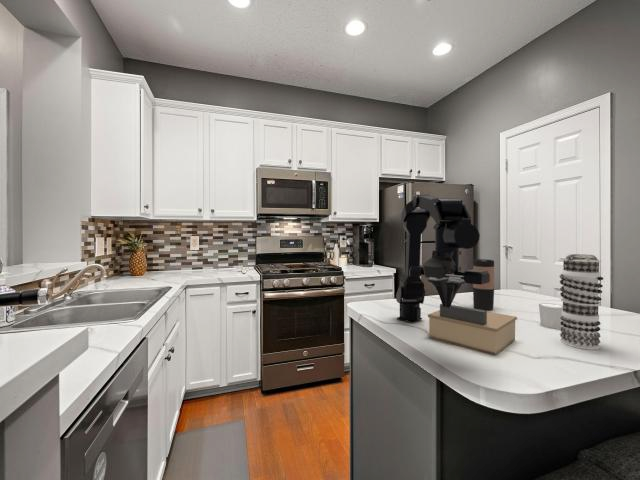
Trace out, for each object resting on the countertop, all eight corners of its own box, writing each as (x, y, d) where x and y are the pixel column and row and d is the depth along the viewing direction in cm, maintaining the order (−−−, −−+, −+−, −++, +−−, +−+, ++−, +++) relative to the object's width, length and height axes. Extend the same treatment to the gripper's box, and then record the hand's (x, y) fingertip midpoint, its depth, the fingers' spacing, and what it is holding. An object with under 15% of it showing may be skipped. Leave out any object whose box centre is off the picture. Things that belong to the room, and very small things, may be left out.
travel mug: (468, 307, 126) (469, 259, 125) (481, 305, 129) (481, 258, 128) (485, 311, 119) (486, 261, 118) (498, 309, 122) (498, 260, 121)
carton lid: (427, 317, 90) (427, 302, 90) (452, 307, 101) (452, 295, 101) (496, 332, 76) (496, 315, 76) (516, 319, 87) (516, 304, 87)
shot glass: (553, 330, 96) (554, 308, 96) (533, 323, 103) (533, 303, 103) (569, 328, 98) (570, 306, 98) (548, 322, 105) (549, 302, 105)
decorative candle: (577, 337, 90) (578, 253, 89) (611, 349, 80) (613, 255, 80) (550, 338, 88) (551, 253, 88) (581, 351, 79) (583, 256, 79)
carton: (429, 337, 90) (429, 317, 90) (453, 326, 101) (453, 308, 101) (495, 355, 77) (495, 331, 77) (515, 340, 87) (515, 319, 87)
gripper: (397, 246, 79) (397, 305, 79) (472, 249, 65) (471, 321, 65) (420, 245, 86) (419, 299, 87) (490, 247, 73) (490, 312, 73)
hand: (446, 307), depth 78 cm, fingers closed
